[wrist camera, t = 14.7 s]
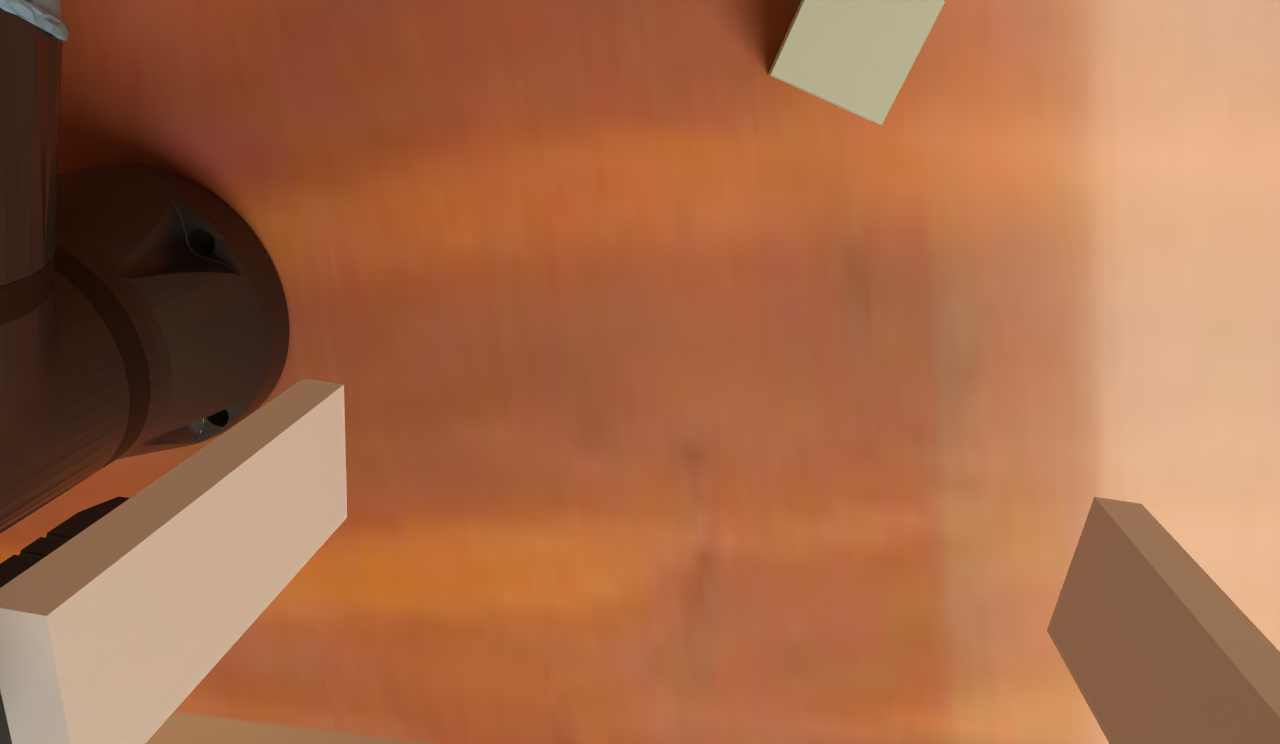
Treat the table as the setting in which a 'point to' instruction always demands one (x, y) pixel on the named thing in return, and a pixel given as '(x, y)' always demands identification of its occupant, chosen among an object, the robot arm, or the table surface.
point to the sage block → (854, 50)
